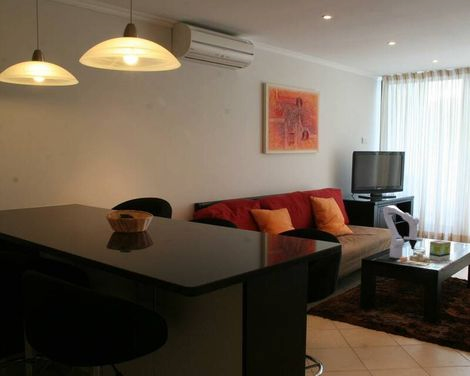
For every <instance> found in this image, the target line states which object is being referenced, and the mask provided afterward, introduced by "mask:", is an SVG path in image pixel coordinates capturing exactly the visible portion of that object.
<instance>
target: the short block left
mask: <svg viewBox="0 0 470 376" xmlns="http://www.w3.org/2000/svg"><path fill="white" fill-rule="evenodd" d="M409 260H410V261H416V254H415V255H414V254H411V255H409Z"/></svg>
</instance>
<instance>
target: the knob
mask: <svg viewBox="0 0 470 376" xmlns="http://www.w3.org/2000/svg"><path fill="white" fill-rule="evenodd" d="M399 260H400V261H407V260H408V256H404V255H402V257H400V258H399Z"/></svg>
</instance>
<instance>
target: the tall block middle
mask: <svg viewBox="0 0 470 376" xmlns="http://www.w3.org/2000/svg"><path fill="white" fill-rule="evenodd" d="M415 256H416V261H417V262H423V258H424V253H421V252H417V253H416V254H415Z"/></svg>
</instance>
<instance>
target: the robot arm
mask: <svg viewBox="0 0 470 376" xmlns="http://www.w3.org/2000/svg"><path fill="white" fill-rule="evenodd" d="M382 212H383V218H384V220H385V223H386V225H387V228H388V229H389V232H390V234H391V238H390V242H391V246H390V248H389V258H394V259H400V257H402V256H403V247H404V245H405V240H407V241H408V242H409V244H410V249H411V250H414V249H415V247H416V245H417V243H418V242H423V238H419V237H418V225H419V222H420V220H419V218H418V217H416V216H415V217H414V216H413V215H411V214H410V213H409V212H403V211H402V210H400V209H399V208H398V207H397V206H395V205H394V204H393V205H385V206H383V209H382ZM394 214H396V215H397V216H398V215H399V216H400V217H401V218H402V220H404V221H405V222H407V223H408V226H409V233H408V236H401V235H400V234H399V232H398V229H397V227H396V225H395V222H394V221H393V218H392V217H393V215H394ZM402 237H403V238H402Z"/></svg>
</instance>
